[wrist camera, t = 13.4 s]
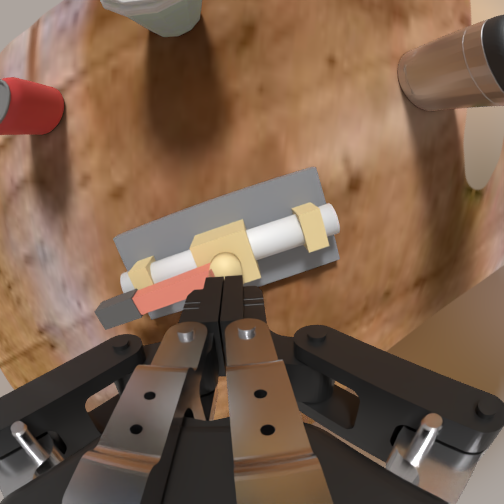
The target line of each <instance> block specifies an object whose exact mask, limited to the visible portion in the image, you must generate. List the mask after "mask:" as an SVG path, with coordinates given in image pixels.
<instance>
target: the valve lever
mask: <svg viewBox="0 0 504 504" xmlns="http://www.w3.org/2000/svg"><path fill="white" fill-rule="evenodd" d="M235 275H242V266H241V262H240V259H239V258H238V257H237V256H236V255H235V254H233V253H230V252H221V253H218V254H217V255H215V256H214V257H213V259H212V260H211V263H208V264H205V265H203V266H200V267H198V268H195V269H192V270H190V271H187V272H185V273H182V274H179V275H177V276H174V277H171V278H169V279H166V280H164V281H161V282H158V283H156V284H153V285H151V286H148V287H145V288H143V289H140V290H138V289H137V288H136V289H134V290H131V291H129V292H126V293H123V294H121V295H118V296H116V297H113V298H111V299H108V300H106V301H103V302H102V303H101V304H100V305H99V306H98V308H97V309H96V310H95V314H96V315H97V317H98V319H99V320H100V322H101V323H102V325H103V327H104V328H105V330H106V329H109V328H112V327H115V326H118V325H121V324H124V323H127V322H130V321H133V320H136V319H139V318H142V316H143V314H145V313H148V312H151V311H154V310H157V309H160V308H162V307H165V306H168V305H171V304H174V303H176V302H179V301H182V300H185V299H186V298H187V296H188V295H189V294H190V293H191V292H192V291H193V290H197V289H203V288H204V283H205V279H206V277H221V276H224V279H225V276H235Z"/></svg>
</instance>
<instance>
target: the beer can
mask: <svg viewBox="0 0 504 504" xmlns="http://www.w3.org/2000/svg"><path fill="white" fill-rule="evenodd" d="M63 110H64V100H63V97H62V94H61V93H60V92H59V91H58V90H57V89H55V88H53V87H49V86H46V85H42V84H38V83H35V82H31V81H27V80H23V79H19V78H14V77H11V78H3V79H0V135H17V134H42V135H43V134H46V133H49V132H50V131H51V130H53V129H54V128H55V127H56V126H57V124H58V123H59V121H60V119H61V117H62V115H63Z"/></svg>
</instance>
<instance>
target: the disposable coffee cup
mask: <svg viewBox="0 0 504 504" xmlns="http://www.w3.org/2000/svg"><path fill="white" fill-rule="evenodd" d="M100 1H101V3H102V5H103V7H104V8H105V9H108V10H110V11H113V12H116V13H118V14H121V15H124V16H126V17H128V18H130V19H132V20H133V21H135V22H137V23H138V24H140V25H142V26H143V27H145V28H147V29H148V30H150V31H152V32H154V33H156V34H158V35H160V36H162V37H174V36H180V35H182V34H184V33H186V32H188V31H190V30H191V29H192V28H193V27H194V26H195V24H196V23H197V22H198V21H199V20H200V13H201V6H202V0H100Z"/></svg>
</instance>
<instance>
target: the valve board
mask: <svg viewBox="0 0 504 504" xmlns="http://www.w3.org/2000/svg"><path fill="white" fill-rule="evenodd" d="M339 232H340V226H339V221H338V218H337V215H336V212H335V210H334V208H333V206H332V205H331V204H330V203H328V204H326V202H325V198H324V194H323V191H322V187H321V183H320V180H319V176H318V173H317V169H316V167H310V168H306V169H303V170H300V171H296V172H293V173H290V174H287V175H284V176H280V177H277V178H274V179H271V180H268V181H265V182H262V183H258V184H255V185H252V186H249V187H246V188H243V189H240V190H237V191H234V192H231V193H229V194H226V195H223V196H220V197H217V198H214V199H211V200H208V201H206V202H203V203H200V204H197V205H195V206H192V207H189V208H186V209H184V210H181V211H178V212H176V213H173V214H170V215H168V216H165V217H162V218H160V219H157V220H154V221H152V222H149V223H147V224H144V225H142V226H139V227H137V228H134V229H132V230H129V231H127V232H124V233H122V234H119V235H117V236H116V237H114V238H113V240H114V242H115V244H116V247H117V249H118V251H119V253H120V256H121V258H122V260H123V262H124V265H125V267H126V269H127V272H125V273H122V275H121V287H122V290H123V292H124V293H126V292H129V291H131V290H134V289H136V288H137V289H138V290H140V289H143V288H145V287H148V286H151V285H153V284H156V283H158V282H161V281H164V280H166V279H169V278H171V277H174V276H177V275H179V274H182V273H185V272H187V271H190V270H192V269H195V268H198V267H200V266H203V265H205V264H208V263H211V260H212V259H213V257H214V256H215V255H217V254H218V253H221V252H230V253H233V254H235V255H236V256H237V257H238V258H239V259H240V262H241V266H242V275H243V286H257V287H259V286H262V285H265V284H268V283H271V282H274V281H277V280H280V279H283V278H286V277H289V276H292V275H295V274H298V273H301V272H304V271H307V270H310V269H313V268H316V267H319V266H321V265H324V264H327V263H330V262H333V261H336V260H339V259H340V258H339V254H338V249H337V245H336V241H335V237H334V234H337V233H339ZM185 301H186V299H185V300H182V301H179V302H176V303H174V304H171V305H168V306H165V307H162V308H160V309H157V310H154V311H151V312H148V314H149V316H150V318H151V320H152V319H155V318H159V317H162V316H166V315H169V314H172V313H176V312H179V311H182V310H183V307H184V304H185Z"/></svg>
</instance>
